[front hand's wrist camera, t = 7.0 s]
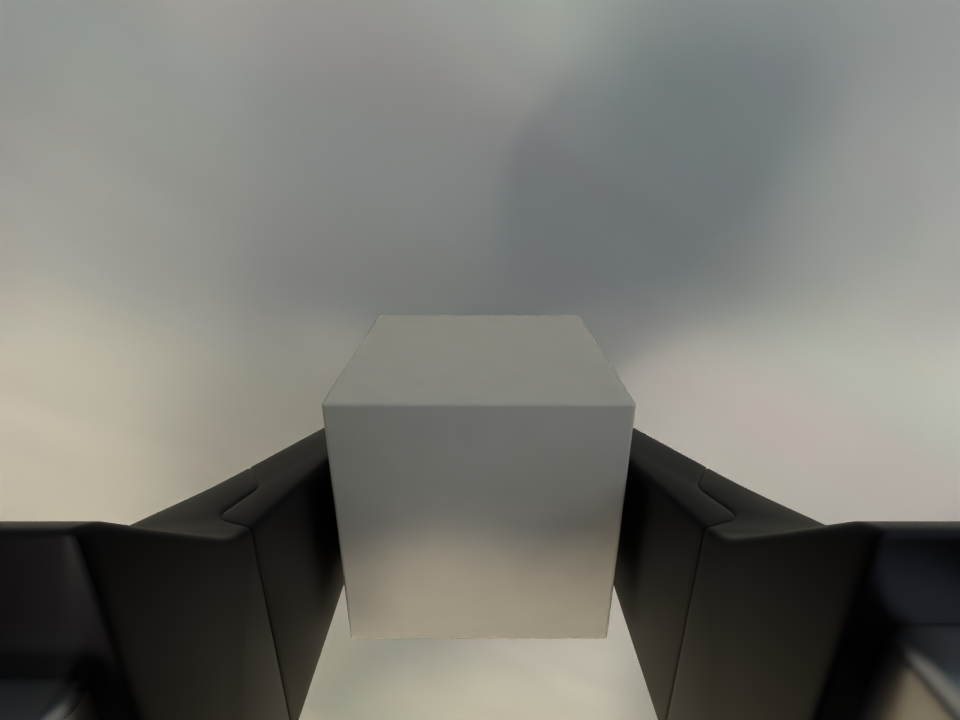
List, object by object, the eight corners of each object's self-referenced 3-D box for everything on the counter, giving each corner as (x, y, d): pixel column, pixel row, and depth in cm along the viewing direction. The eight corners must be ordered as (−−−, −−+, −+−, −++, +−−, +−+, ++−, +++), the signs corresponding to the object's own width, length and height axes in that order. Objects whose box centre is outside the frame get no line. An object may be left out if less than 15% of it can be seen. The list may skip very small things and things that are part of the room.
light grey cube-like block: (580, 314, 11) (637, 403, 7) (566, 487, 13) (607, 640, 9) (378, 314, 11) (320, 403, 7) (391, 486, 13) (350, 639, 9)
